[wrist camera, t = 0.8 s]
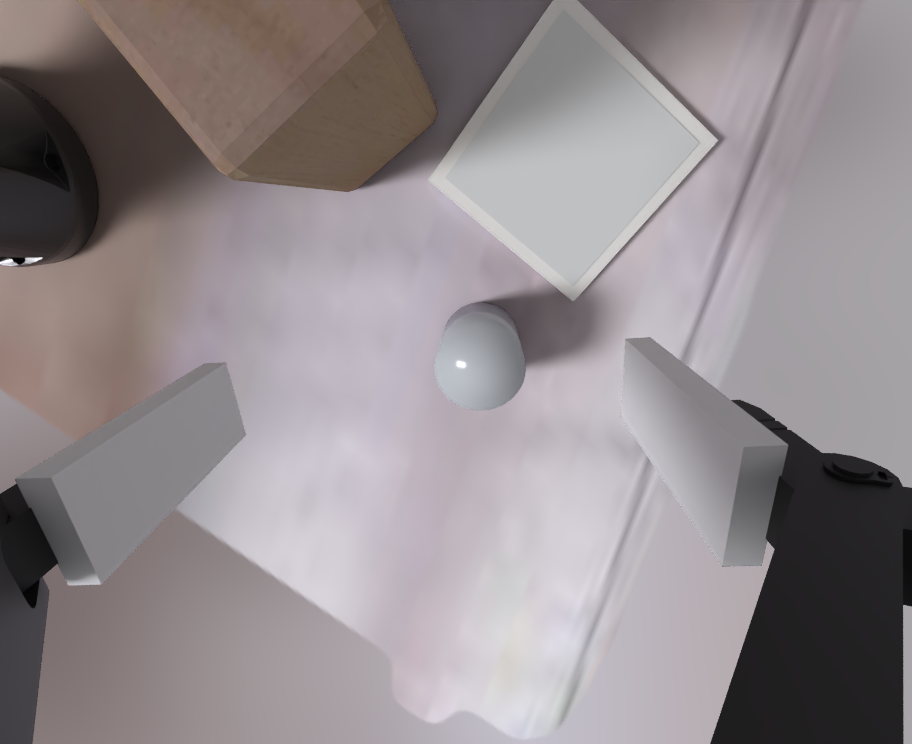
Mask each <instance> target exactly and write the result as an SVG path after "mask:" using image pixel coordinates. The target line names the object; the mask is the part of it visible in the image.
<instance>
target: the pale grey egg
mask: <svg viewBox="0 0 912 744" xmlns="http://www.w3.org/2000/svg"><path fill="white" fill-rule="evenodd" d="M434 369H435V376H436V380H437V383H438V385H439V387H440V389H441V390H442V392H443V393H444V394H445V395H446V396H447V398H449V399H450V400H451V401H452V402H454V403H455V404H457V405H459V406H461V407H464V408H467V409H471V410H490V409H494V408H497V407H499V406H501V405H503V404H505V403H507V402H508V401H509V400H511V399H512V398H513V397H514V396H515V395H516V393H517V392H518V391H519V389H520V388H521V386H522V383H523V381H524V377H525V372H526V363H525V358H524V354H523V350H522V347H521V343H520V340H519V336H518V332H517V329H516V326H515V324H514V322H513V320H512V318H511V317H510V316H509V315H508V314H507V313H506V312H505V311H504V310H502V309H501V308H499V307H497V306H495V305H492V304H488V303H473V304H469V305H466V306H464V307H462V308H460V309H459V310H457V311H456V312H455V313H454V314H453V315H452V316H451V317H450V319H449V320H448V322H447V324H446V326H445V329H444V332H443V336H442V339H441V342H440V345H439V348H438V352H437V355H436V359H435V367H434Z"/></svg>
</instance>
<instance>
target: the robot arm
mask: <svg viewBox="0 0 912 744" xmlns="http://www.w3.org/2000/svg"><path fill="white" fill-rule="evenodd" d="M97 209H98V194H97V186H96V180H95V176H94V172H93V169H92V166H91V163H90V161H89V158H88V156H87V154H86V151H85V149H84V147H83V145H82V144H81V142H80V140H79V138H78V137H77V135H76V134H75V132H74V131H73V129H72V128H71V127H70V125H69V124H68V123H67V122H66V120H65V119H64V118H63V117H62V116H61V115H60V113H59V112H58V111H57V110H56V109H55V108H54V107H53V106H51V105H50V104H49V103H48V102H47V101H46V100H44V99H43V98H42V97H41V96H39V95H38V94H36V93H35V92H34V91H32V90H30V89H29V88H27V87H25V86H23V85H21V84H20V83H17V82H15V81H13V80H10V79H7V78H4V77H1V76H0V265H3V266H12V267H28V266H35V265H43V264H51V263H56V262H59V261H62V260H64V259H67V258H69V257H70V256H72V255H73V254H75V253H76V252H77V251H78V250H80V249H81V248H82V246H83V245H84V244H85V243H86V241H87V240H88V238H89V237H90V235H91V233H92V230H93V228H94V225H95V221H96V216H97ZM620 417H621V418H622V420H623V421H624V423H625V424H626V426H627V427H628V429H629V430H630V432H631V433H632V434H633V436H634V437H635V439H636V440H637V442H638V443H639V445H640V446H641V448H642V449H643V451H644V452H645V454H646V455H647V457H648V458H649V460H650V461H651V462H652V464H653V465H654V467H655V468H656V470H657V471H658V473H659V474H660V476H661V477H662V479H663V480H664V482H665V483H666V485H667V486H668V488H669V489H670V490H671V492H672V493H673V495H674V496H675V498H676V499H677V501H678V502H679V504H680V505H681V507H682V508H683V510H684V511H685V512H686V514H687V515H688V517H689V518H690V520H691V521H692V523H693V524H694V526H695V527H696V529H697V530H698V532H699V533H700V535H701V536H702V538H703V539H704V541H705V542H706V544H707V545H708V547H709V548H710V549H711V551H712V552H713V554H714V555H715V557H716V558H717V560H718V561H719V563H720V564H721V566H722V567H730V566H762V563H763V558H764V554H765V549H766V544H767V541H768V542H769V543H770V544H771V545H772V546H773V548H774V549H775V550H774V553H773V556H772V559H771V562H770V565H769V568H768V571H767V574H766V577H765V580H764V583H763V586H762V590H761V592H760V595H759V599H758V601H757V605H756V608H755V611H754V614H753V617H752V620H751V623H750V626H749V629H748V632H747V635H746V638H745V641H744V644H743V647H742V650H741V653H740V656H739V659H738V662H737V665H736V668H735V671H734V674H733V677H732V680H731V683H730V686H729V690H728V692H727V695H726V698H725V702H724V704H723V707H722V710H721V713H720V716H719V719H718V722H717V726H716V728H715V731H714V734H713V737H712V741H711V743H710V744H903V605H907V606H912V488H908V487H903V486H902V484H901V482H900V480H899V478H898V477H897V476H895V475H894V474H893V473H891V472H890V471H889V470H887V469H885V468H883V467H881V466H879V465H877V464H875V463H872V462H870V461H866V460H863V459H860V458H857V457H853V456H847V455H842V454H836V453H821V452H820V451H819V450H817V449H816V448H814V447H813V446H812V445H810V444H809V443H807V442H806V441H805V440H803V439H802V438H801V437H799V436H798V435H797V434H795V433H794V432H792V431H791V430H787V427H786V426H784V425H783V424H781V423H780V422H779V421H775V418H773V417H772V416H770V415H769V414H767V413H766V412H765V411H763V410H762V409H761V408H758V407H756V406H754V405H751V404H749V403H746V402H744V401H741V400H730V399H729V398H727V397H726V396H725V395H723V394H722V393H721V392H720V391H718V390H717V389H716V388H715V387H713V386H712V385H711V384H709V383H708V382H707V381H706V380H704V379H703V378H702V377H700V376H699V375H698V374H697V373H695V372H694V371H693V370H691V369H690V368H689V367H688V366H686V365H685V364H684V363H682V362H681V361H680V360H679V359H677V358H676V357H675V356H673V355H672V354H671V353H670V352H668V351H667V350H666V349H664V348H663V347H662V346H661V345H659V344H658V343H657V342H655V341H654V340H653V339H652V338H650V337H648V338H631V339H625V354H624V369H623V385H622V400H621V416H620ZM245 435H246V433H245V430H244V426H243V422H242V419H241V415H240V411H239V408H238V404H237V400H236V397H235V393H234V390H233V386H232V382H231V379H230V375H229V371H228V368H227V364H226V362H225V363H209V364H203V365H201V366H200V367H198V368H196V369H195V370H193V371H191V372H190V373H188V374H186V375H185V376H183V377H181V378H180V379H178V380H177V381H175V382H173V383H172V384H170V385H168V386H167V387H165V388H163V389H162V390H160V391H158V392H157V393H155V394H154V395H152V396H150V397H149V398H147V399H145V400H144V401H142V402H140V403H139V404H137V405H135V406H134V407H132V408H131V409H129V410H127V411H126V412H124V413H122V414H121V415H119V416H117V417H116V418H114V419H112V420H111V421H109V422H108V423H106V424H104V425H103V426H101V427H99V428H98V429H96V430H94V431H93V432H91V433H89V434H88V435H86V436H85V437H83V438H81V439H80V440H78V441H76V442H75V443H73V444H71V445H70V446H68V447H67V448H65V449H63V450H62V451H60V452H58V453H57V454H55V455H53V456H52V457H50V458H48V459H47V460H45V461H43V462H42V463H40V464H39V465H37V466H35V467H34V468H32V469H30V470H29V471H27V472H25V473H24V474H22V475H20V476H19V477H17V478H16V479H15V481H16V483H17V484H15V485H14V486H12V487H11V488H9V489H7V490H6V491H4V492H3V493H1V494H0V744H32V742H33V733H34V724H35V716H36V706H37V697H38V688H39V679H40V671H41V662H42V653H43V644H44V634H45V626H46V617H47V608H48V599H49V589H48V586H47V584H46V582H45V580H44V579H43V576H44V575H45V574H46V573H47V572H48V571H49V570H51V569H52V568H53V567H54V566H55V565H56V564H58V566H59V568H60V570H61V572H62V574H63V576H64V578H65V580H66V582H67V584H68V585H95V584H96V585H97V584H102V583H103V582H104V581H105V580H106V579H107V578H108V577H109V576H110V575H111V574H112V573H113V572H114V571H115V570H116V569H117V568H118V567H119V566H120V564H122V563H123V562H124V560H125V559H126V558H127V557H128V556H129V555H130V554H131V553H132V552H133V551H134V550H135V549H136V548H137V547H138V546H139V545H140V544H141V543H142V542H143V541H144V540H145V539H146V538H147V537H148V536H149V535H150V534H151V533H152V531H153V530H154V529H155V528H156V527H157V526H158V525H159V524H160V523H161V522H162V521H163V520H164V519H165V518H166V517H167V516H168V515H169V514H170V513H171V512H172V511H173V510H174V509H175V508H176V507H177V506H178V505H179V504H180V503H181V502H182V501H183V500H184V498H185V497H186V496H187V495H188V494H189V493H190V492H191V491H192V490H193V489H194V488H195V487H196V486H197V485H198V484H199V483H200V482H201V481H202V480H203V479H204V478H205V477H206V476H207V475H208V474H209V473H210V472H211V471H212V470H213V468H214V467H215V466H216V465H217V464H218V463H219V462H220V461H221V460H222V459H223V458H224V457H225V456H226V455H227V454H228V453H229V452H230V451H231V450H232V449H233V448H234V447H235V446H236V445H237V444H238V443H239V442H240V441H241V440H242V439H243V437H244V436H245Z"/></svg>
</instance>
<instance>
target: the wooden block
mask: <svg viewBox="0 0 912 744" xmlns="http://www.w3.org/2000/svg"><path fill="white" fill-rule="evenodd" d="M78 1H79V3H80V4H81V5H82V6H83V7H84V9H85V10H86V11H87V12H88V14H89V15H90V16H91V17H92V18H93V20H94V21H95V22H96V23H97V24H98V26H99V27H100V28H101V29H102V30H103V32H104V33H105V34H106V35H107V37H108V38H109V39H110V40H111V41H112V43H113V44H114V45H115V46H116V47H117V49H118V50H119V51H120V52H121V53H122V55H123V56H124V57H125V58H126V60H127V61H128V62H129V63H130V64H131V66H132V67H133V68H134V69H135V70H136V72H137V73H138V74H139V75H140V76H141V78H142V79H143V80H144V81H145V83H146V84H147V85H148V86H149V87H150V89H151V90H152V91H153V92H154V93H155V95H156V96H157V97H158V98H159V99H160V101H161V102H162V103H163V104H164V106H165V107H166V108H167V109H168V110H169V112H170V113H171V114H172V115H173V116H174V118H175V119H176V120H177V121H178V122H179V124H180V125H181V126H182V127H183V129H184V130H185V131H186V132H187V133H188V135H189V136H190V137H191V138H192V139H193V141H194V142H195V143H196V144H197V145H198V147H199V148H200V149H201V150H202V152H203V153H204V154H205V155H206V156H207V158H208V159H209V160H210V161H211V162H212V164H213V165H214V166H215V167H216V168H217V170H218V171H220V172H222V173H223V174H225V175H227V176H228V177H230V178H231V179H233V180H239V181H248V182H258V183H267V184H277V185H286V186H296V187H305V188H315V189H324V190H334V191H343V192H349V191H353V190H356V189H357V188H359V187H360V186H361V185H362V184H363V183H364V182H366V181H367V180H368V179H369V178H370V177H371V176H373V175H374V174H375V173H376V172H377V171H378V170H380V169H381V168H382V167H383V166H384V165H385V164H386V163H388V162H389V161H390V160H391V159H392V158H393V157H395V156H396V155H397V154H398V153H399V152H400V151H402V150H403V149H404V148H405V147H406V146H407V145H409V144H410V143H411V142H412V141H413V140H414V139H416V138H417V137H418V136H419V135H420V134H421V133H423V132H424V131H425V130H426V129H427V128H428V127H430V126H431V125H432V124H433V122H434V120H435V119H436V117H437V115H438V112H437V108H436V104H435V101H434V99H433V97H432V95H431V92H430V90H429V88H428V86H427V84H426V82H425V79H424V77H423V75H422V73H421V71H420V69H419V66H418V64H417V62H416V60H415V58H414V56H413V53H412V51H411V49H410V47H409V45H408V42H407V40H406V38H405V36H404V34H403V32H402V29H401V27H400V25H399V23H398V21H397V19H396V16H395V14H394V12H393V10H392V8H391V5H390V3H389V2H388V0H78Z"/></svg>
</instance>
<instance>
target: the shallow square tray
mask: <svg viewBox="0 0 912 744" xmlns="http://www.w3.org/2000/svg"><path fill="white" fill-rule="evenodd" d="M717 141H718V140H717V139H716V138H715V137H714V136H713V135H712V134H711V133H710V132H709V131H708V130H707V129H706V128H705V127H704V126H703V125H702V124H701V123H700V122H699V121H698V120H697V119H696V118H695V117H694V116H693V115H692V114H691V113H690V112H689V111H688V110H687V109H686V108H685V107H684V106H683V105H682V104H681V103H680V102H679V101H678V100H677V99H676V98H675V97H674V96H673V95H672V94H671V93H670V92H669V91H668V90H667V89H666V88H665V87H664V86H663V85H662V84H661V83H660V82H659V81H658V80H657V79H656V78H655V77H654V76H653V75H652V74H651V73H650V72H649V71H648V70H647V69H646V68H645V67H644V66H643V65H642V64H641V63H640V62H639V61H638V60H637V59H636V58H635V57H634V56H633V55H632V54H631V53H630V52H629V51H628V50H627V49H626V48H625V47H624V46H623V45H622V44H621V43H620V42H619V41H618V40H617V39H616V38H615V37H614V36H613V35H612V34H611V33H610V32H609V31H608V30H607V29H606V28H605V27H604V26H603V25H602V24H601V23H600V22H599V21H598V20H597V19H596V18H595V17H594V16H593V15H592V14H591V13H590V12H589V11H588V10H587V9H586V8H585V7H584V6H583V5H582V4H581V3H580V2H579V1H578V0H553V1H552V2H551V4H550V5H549V7H548V8H547V9H546V11H545V12H544V14H543V15H542V17H541V18H540V20H539V21H538V22H537V24H536V25H535V27H534V28H533V30H532V31H531V32H530V34H529V35H528V37H527V38H526V40H525V41H524V43H523V44H522V45H521V47H520V48H519V50H518V51H517V53H516V54H515V56H514V57H513V58H512V60H511V61H510V63H509V64H508V66H507V67H506V69H505V70H504V71H503V73H502V74H501V76H500V77H499V79H498V80H497V82H496V83H495V84H494V86H493V87H492V89H491V90H490V92H489V93H488V94H487V96H486V97H485V99H484V100H483V102H482V103H481V105H480V106H479V107H478V109H477V110H476V112H475V113H474V115H473V116H472V118H471V119H470V120H469V122H468V123H467V125H466V126H465V128H464V129H463V131H462V132H461V133H460V135H459V136H458V138H457V139H456V141H455V142H454V144H453V145H452V146H451V148H450V149H449V151H448V152H447V154H446V155H445V156H444V158H443V159H442V161H441V162H440V164H439V165H438V167H437V168H436V169H435V171H434V172H433V174H432V175H431V177H430V178H429V180H428V181H429V182H430V183H432V184H433V185H434V186H435V187H436V188H438V189H439V190H440V191H441V192H442V193H444V194H445V195H446V196H447V197H448V198H450V199H451V200H452V201H453V202H454V203H456V204H457V205H458V206H459V207H460V208H462V209H463V210H464V211H465V212H466V213H468V214H469V215H470V216H471V217H472V218H474V219H475V220H476V221H477V222H478V223H479V224H481V225H482V226H483V227H484V228H485V229H487V230H488V231H489V232H490V233H491V234H493V235H494V236H495V237H496V238H497V239H499V240H500V241H501V242H502V243H503V244H505V245H506V246H507V247H508V248H509V249H511V250H512V251H513V252H514V253H515V254H517V255H518V256H519V257H520V258H521V259H523V260H524V261H525V262H526V263H527V264H529V265H530V266H531V267H532V268H533V269H535V270H536V271H537V272H538V273H539V274H540V275H542V276H543V277H544V278H545V279H546V280H548V281H549V282H550V283H551V284H552V285H554V286H555V287H556V288H557V289H558V290H560V291H561V292H562V293H563V294H564V295H566V296H567V297H568V298H569V299H570V300H572V301H573V302H574V301H575V299H576V298H577V297H578V296H579V295H580V294H581V293H582V292H583V291H584V289H585V288H586V287H587V286H588V285H589V284H590V283H591V282H592V280H593V279H594V278H595V277H596V276H597V275H598V274H599V273H600V272H601V270H602V269H603V268H604V267H605V266H606V265H607V264H608V263H609V262H610V260H611V259H612V258H613V257H614V256H615V255H616V254H617V253H618V252H619V250H620V249H621V248H622V247H623V246H624V245H625V244H626V243H627V242H628V240H629V239H630V238H631V237H632V236H633V235H634V234H635V233H636V231H637V230H638V229H639V228H640V227H641V226H642V225H643V224H644V223H645V221H646V220H647V219H648V218H649V217H650V216H651V215H652V214H653V213H654V211H655V210H656V209H657V208H658V207H659V206H660V205H661V204H662V203H663V201H664V200H665V199H666V198H667V197H668V196H669V195H670V194H671V193H672V191H673V190H674V189H675V188H676V187H677V186H678V185H679V184H680V182H681V181H682V180H683V179H684V178H685V177H686V176H687V175H688V174H689V172H690V171H691V170H692V169H693V168H694V167H695V166H696V165H697V164H698V162H699V161H700V160H701V159H702V158H703V157H704V156H705V155H706V154H707V152H708V151H709V150H710V149H711V148H712V147H713V146H714V145H715V144H716V142H717Z"/></svg>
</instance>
